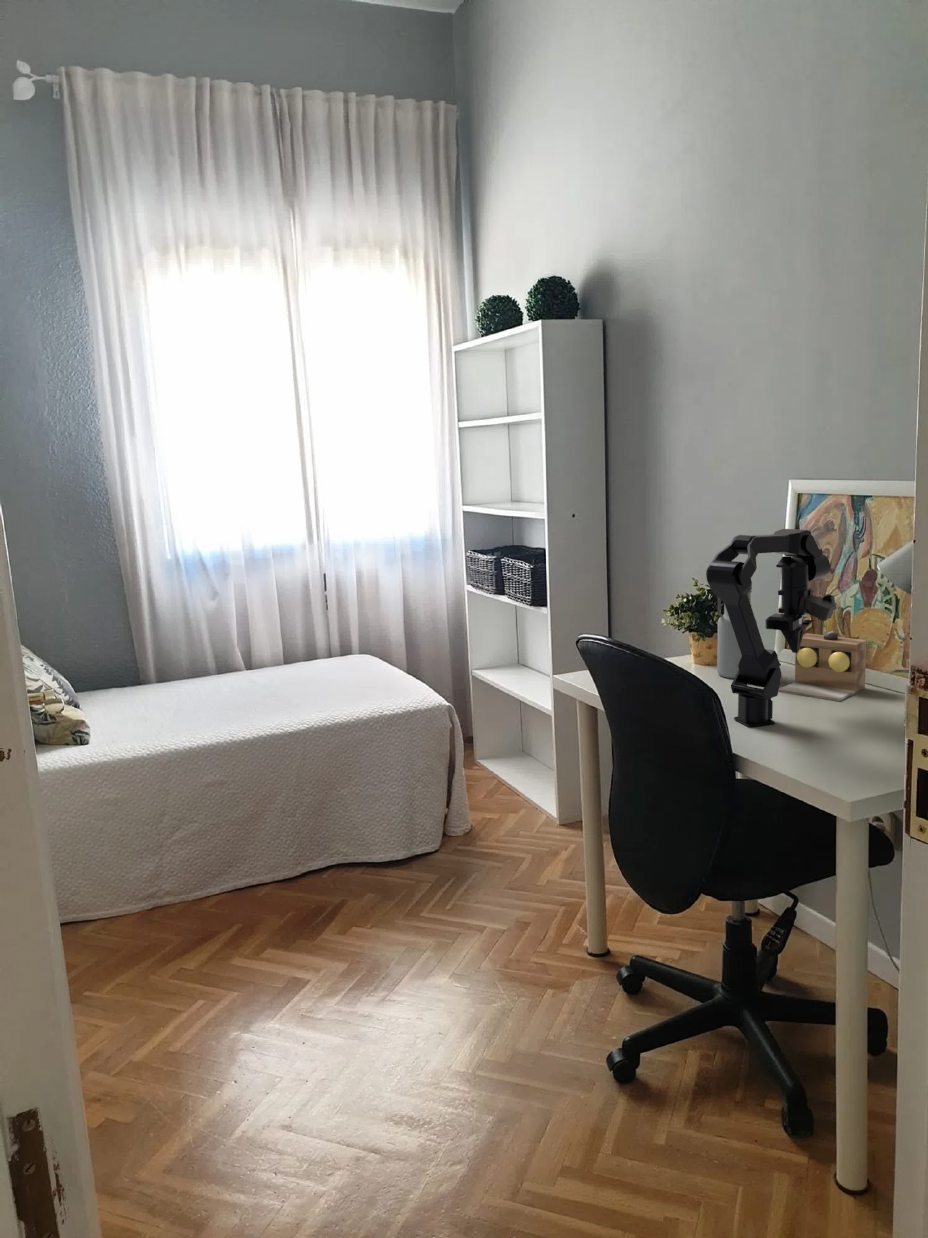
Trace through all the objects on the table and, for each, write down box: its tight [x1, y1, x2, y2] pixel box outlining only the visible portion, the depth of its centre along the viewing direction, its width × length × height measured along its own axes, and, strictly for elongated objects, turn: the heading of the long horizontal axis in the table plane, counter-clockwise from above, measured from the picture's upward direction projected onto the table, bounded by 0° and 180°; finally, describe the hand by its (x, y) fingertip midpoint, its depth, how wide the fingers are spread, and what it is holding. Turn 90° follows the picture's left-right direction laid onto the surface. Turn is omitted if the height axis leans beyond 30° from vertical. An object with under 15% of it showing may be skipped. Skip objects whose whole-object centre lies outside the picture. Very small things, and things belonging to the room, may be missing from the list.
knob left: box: [797, 647, 819, 668], centre depth 237 cm, size 8×5×5 cm, turn 135°
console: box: [778, 630, 868, 702], centre depth 232 cm, size 14×15×14 cm
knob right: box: [829, 651, 851, 672], centre depth 231 cm, size 8×5×5 cm, turn 135°
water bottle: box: [716, 580, 758, 680], centre depth 248 cm, size 10×10×28 cm
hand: (795, 652), depth 217 cm, fingers closed
